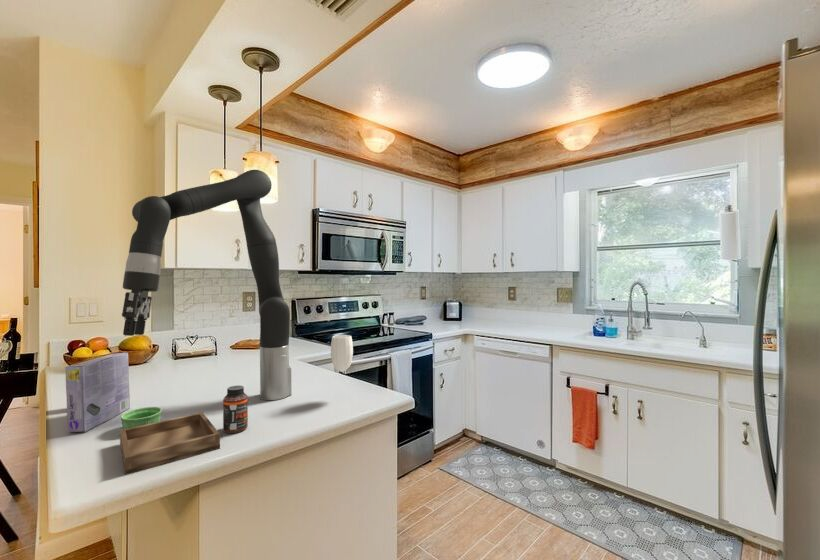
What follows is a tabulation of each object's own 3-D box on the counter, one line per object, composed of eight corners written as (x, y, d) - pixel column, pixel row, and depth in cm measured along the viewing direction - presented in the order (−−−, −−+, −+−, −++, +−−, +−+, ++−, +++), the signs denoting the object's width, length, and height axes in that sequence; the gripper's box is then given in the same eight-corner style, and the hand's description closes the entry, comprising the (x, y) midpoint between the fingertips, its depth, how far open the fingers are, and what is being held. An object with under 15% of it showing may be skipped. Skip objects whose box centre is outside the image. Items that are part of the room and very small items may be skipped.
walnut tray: (202, 424, 103) (202, 412, 103) (220, 448, 89) (219, 433, 89) (120, 444, 92) (119, 430, 91) (125, 474, 78) (124, 458, 78)
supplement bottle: (238, 435, 97) (237, 391, 96) (218, 433, 98) (217, 390, 98) (252, 425, 102) (252, 384, 102) (233, 424, 104) (232, 383, 103)
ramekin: (116, 438, 95) (115, 421, 95) (126, 425, 103) (126, 409, 103) (158, 432, 98) (157, 416, 98) (165, 420, 107) (164, 404, 107)
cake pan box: (116, 407, 116) (115, 351, 116) (133, 407, 117) (132, 350, 116) (64, 434, 97) (63, 366, 97) (85, 433, 98) (83, 366, 97)
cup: (342, 393, 129) (342, 333, 129) (357, 397, 125) (357, 335, 125) (326, 399, 124) (325, 336, 123) (341, 404, 119) (341, 339, 119)
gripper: (153, 270, 93) (143, 336, 90) (165, 276, 106) (157, 335, 104) (116, 267, 90) (105, 335, 88) (133, 274, 103) (124, 333, 101)
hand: (133, 335), depth 96 cm, fingers open, 8 cm apart
